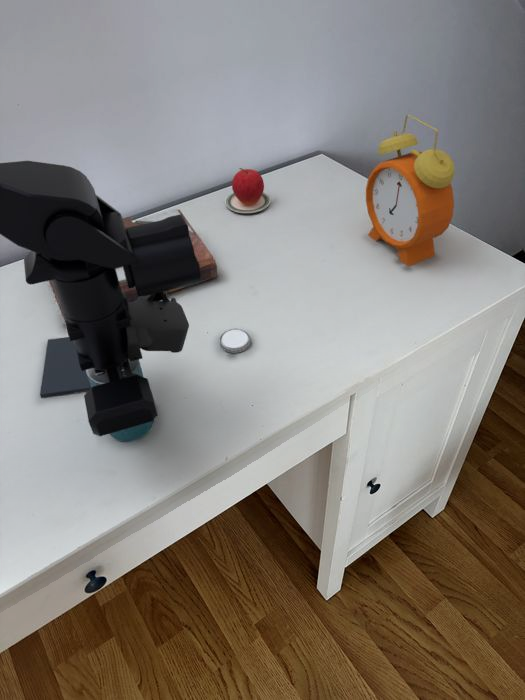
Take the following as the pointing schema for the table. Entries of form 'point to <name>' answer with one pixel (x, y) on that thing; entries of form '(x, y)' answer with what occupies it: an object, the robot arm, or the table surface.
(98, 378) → the can
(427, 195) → the alarm clock
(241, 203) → the apple
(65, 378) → the mat
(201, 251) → the book
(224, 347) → the bottle cap
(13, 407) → the table surface
